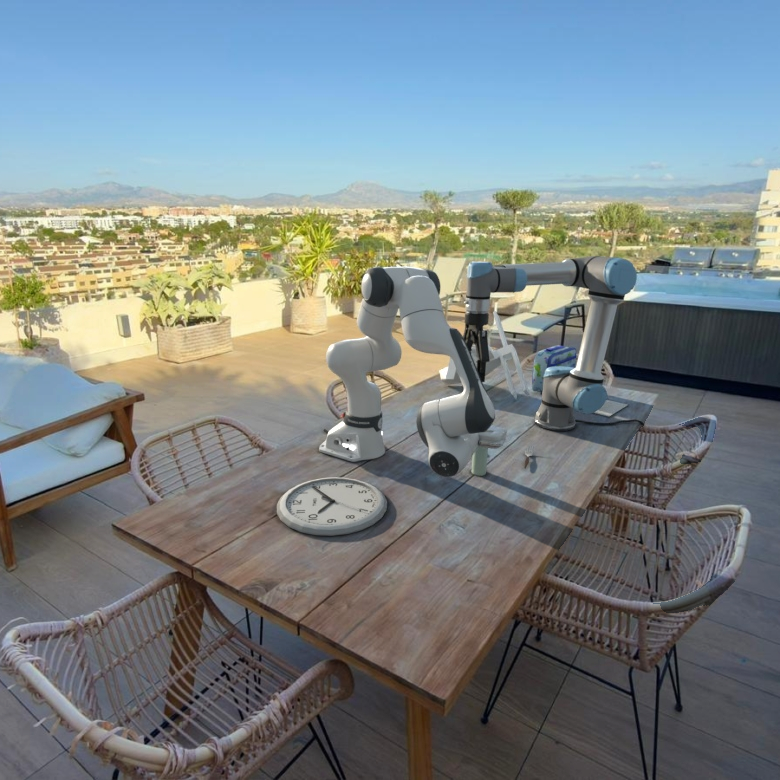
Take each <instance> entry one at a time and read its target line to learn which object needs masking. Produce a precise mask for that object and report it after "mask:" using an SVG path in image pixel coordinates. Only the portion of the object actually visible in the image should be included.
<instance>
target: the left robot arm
mask: <svg viewBox="0 0 780 780" xmlns="http://www.w3.org/2000/svg"><path fill="white" fill-rule="evenodd" d="M360 282H361V284H360V291H361V296H362V299H361V302H360V307H359V310H358V312H357V313H358V314H357V317H356V325H357V329H358V330H359V331H360V333H361V334H362V335H364V336H365V337H360V338H352V339H351V338H350V339H343V340H340V341H337V342H335V343H332V344H330V345H329V346H328V348H327V350H326V353H325V362H326V365H327V367H328V369H329V370H330V371H331V372H332V373H333V374H334V375H336V376H337V377H339V379H340V380H341V381H342V382H343V385H344V387H345V390H346V398H347V399H346V400H347V401H346V402H347V408H346V410H345V411H342V413H341V415H340V419H342V421H340V422H339V423H337V424H336V425H334V426H333V427H332V428H330V429H329V430H327V429H326V428H324V429H323V432H324V433H326V439H325V440H324V441H323V442H322V443H321V444H320V445H319V447H318V448H319V449H318V451H319V452H320V453H323V454H325V455H329V456H331V457H335V458H339V459H340V460H341V459H342V460H344V461H348V462H352V463H357V462H361V461H366V460H374V459H378V458H380V457H383V455H384V454H386V448H385V444H384V440H383V439H384V438H383V435H384V434H383V433H384V432H383V431H382V429H383V423H384V421H383V420H384V419H383V411H382V390H381V389H380V387H379V386H378V385H377V383H374V382H372V381H370V380H368V378H367V374H368V373H370V372H378V371H385V370H387V369H390V368H393V367H395V366H397V365H398V364H399V363H400V361H401V359H402V355H403V354H402V353H403V351H402V346H401V344H400V342H399V341H398V340H397V339H396V338H395V337H394V336H393V328H394V324H395V321H396V317H397V314H398V312H399V318H400V324H401V330H402V335H403V337H404V340H405V342H406V343H407V345H408V346H409V347H410V348H412V349H414V350H415V351H418V352H421V353H424V354H430V355H442V356H448V357H449V358H450V357H451V359H452V360H453V362H454V364H455V367H456V369H457V372H458V374H459V377H460V380H461V382H462V383H461V385H462V387H463V391H462V392H460V393H458V394H454V395H451V396H446V397H440V398H437V399H433V400H430V401H426V402H423V403H422V404H421V406H420V408H419V410H418V413H417V416H416V428H417V432H418V435H419V437H420V439H421V441H422V442H423V444H424V445H425V446H426V447H427V449H428V465H429V467H430V469H431V471H432V472H434V473H435V474H437V475H438V476H441V477H444V478H451V477H454V476H457V475H459V474H460V473H461V472H462V471H463V470H464V469H465V468H466V467H467V465H468V464H469V462H470V459H471V458H472V457H473V454H474V452H475V451H476V449H477V447H478V446H479V447H485V448H488V449H490V450H491V449H493V450H496V449H499V448H501V447H503V446H504V444H505V443H506V440H507V429H506V428H504V427H500V426H494V421H495V420H496V411H495V406H494V404H493V402H492V399H491V398H490V396H489V394H488V392H487V390H486V388H485V386H484V382H482V381H481V378H480V376H479V373H478V371H477V368H476V366H475V363H474V361H473V358H472V356H471V353H470V351H469V348H468V346H467V344H466V342H465V340H464V338H463V334H462V333H461V332H460V330H458V328H455V327H451V326H450V325H449V323H448V322H447V319H446V317H445V312H444V307H443V304H442V301H441V297H440V294H441V280H440V278H439V275H438V274H437V273H436V272H435V271H434V270H431V269H428V268H425V267H423V268H418V267H411V266H385V267H383V266H374V267H370V268H368V269H367V270H365V272H364V273H363V275H362V278H361V281H360Z"/></svg>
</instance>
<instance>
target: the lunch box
mask: <svg viewBox="0 0 780 780" xmlns="http://www.w3.org/2000/svg"><path fill="white" fill-rule="evenodd" d="M576 364H577V348H576V347H571V346H565V345H553V346H550V347H546V348H545V349H542V350H539V351H538V352H537V353H536V354H535V356H534V358H533V365H532V376H531V377H532V378H531V390H532V391H533V392H537V393H542V391H543V382H544V374H545V370H546V369H547V368H549V367H556V366H564V367H573V368H575V367H576Z"/></svg>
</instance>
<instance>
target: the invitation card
mask: <svg viewBox="0 0 780 780" xmlns="http://www.w3.org/2000/svg"><path fill="white" fill-rule="evenodd" d="M628 406H629V404H627V403H623V402H618V401H614V400H609V399H606V401H605V403H604V405H603V406H602V407H601V408H600V409H598V410H597V411H596V412H594V413H593V414H596V415H600V416H604V417H608V418H609V417H611V416H613V415H614V414H616V413H617V412H619V411H621V410H623V409H624V408H626V407H628Z"/></svg>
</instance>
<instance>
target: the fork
mask: <svg viewBox="0 0 780 780" xmlns="http://www.w3.org/2000/svg"><path fill="white" fill-rule="evenodd" d="M534 448H535V446H534V445H531V447H530V448H528V447H526V448H525V452H524V455H525V456H526V458H525V460H524V469H527V466H528V464H529V461H530V457H532V456H534Z"/></svg>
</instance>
